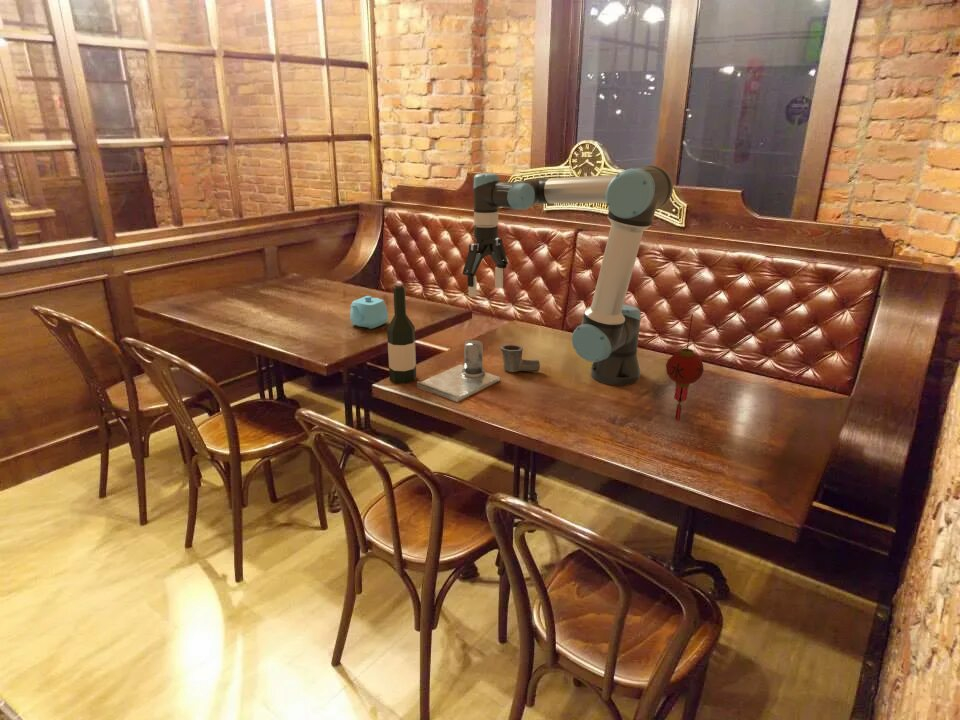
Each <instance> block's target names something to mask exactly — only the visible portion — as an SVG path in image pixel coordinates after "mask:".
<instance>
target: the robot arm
mask: <svg viewBox="0 0 960 720" xmlns="http://www.w3.org/2000/svg"><path fill="white" fill-rule="evenodd" d="M472 191H473V224H474V227H473V237H474V239H475V240H476V242H475V243H470V242H469V245H468V252H467V256H466V258H465V259H466V260H465V263H464V266H463V271H462V275H463V276H467V286H468V287H467V288H468V297H472V298H473V297H474V298H477V297H478V296H477V295H478V293H477V292H478V291H477V290H478V289H477V288H478V287H477V282H478V281H477V276H476V273H477V272H478V269H479V267H480V265H481V263H482V261H483V259H485V257H487V256H490V258H491V259H492V261H493V263H494V264H495V265H496V267H494V288H498V289H504V269H506V268H507V266H508V265H509V261H508V258H507V254H506V252H505V249H504V244H503V239H502V238H501V237H499V226H498V225H499V208H504V209H513V210H514V209H515V210H517V211H518V210H528V209H530V208H531V206H532V205H534V206H535V205H546V204H547V205H549V204H550V205H551V204H590V203H591V204H593V203H594V204H595V203H597V204H602V203H605V204H606V205H607V206H608V213H607V219H608V221H609V222H610V229H609V232H608V237H607V242H606V244H605V249H604V254H603V257H602V261H601V266H600V268H599V273H598V278H597V282H596V286H595V288H594V289H595V290H594V294H593V296H592V297H593V298H592V302H591V305H590V306H588V307H586V308H585V309H584V312H583V315H582V320H581V324H580V325H578V326H577V327H576V328H575V329H574V331H572V336H571V344H572V346H573V349H574V350H575V352H576V354H577V355H578V356H579V357H580V358H581V359H582V360H585V361H586V362H591V363H592V365H591V368H590V376H591V377H592V379H594V380H596V381H598V382H600V383H602V384H606V385H611V386H628V385H633V384H636V383H638V381H640V379H641V368H640V365H639V360H638V356H637V355H638V354H637V353H638V345H639V337H640V336H639V335H640V327H641V326H640V325H641V321H642V318H641V315H642V314H641V310H640V309H639V308H638V307H636V306H633V305H630V304H625V301H626V297H627V293H628V289H629V285H630V283H631V280H632V279H631V278H632V276H633V271H634V267H635V264H636V259H637V256H638V253H639V249H640V245H641V242H642V239H643V234H644V231H645V230H647V229H649V228H651V226H652V224H653V220H654V217H655V213H656V211H657V210H659V209H661V208H662V207H664V206H665V205H666V204H668V202H669V201H670V200H671V198H672V195H673V193H674V192H673V191H674V182H673V179H672V177H671V175H670V173H669V172H668V171H667V170H665V169H664V168H662V167H661V166H660V167H659V166H656V165H648V166H641V167H630V168H628V169H625V170H622V171H620V172H619V173H617V174H606V175H588V176H587V175H586V176H585V175H584V176H570V177H569V176H568V177H550V178H547V177H546V178H545V177H537V178H534V179H527V180H520V181H500V180H499V175H498V174H497V173H493V172H491V173H489V172H487V173H477V174H475V175H474V176H473V187H472Z"/></svg>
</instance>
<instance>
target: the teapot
mask: <svg viewBox="0 0 960 720" xmlns="http://www.w3.org/2000/svg"><path fill="white" fill-rule="evenodd" d="M349 307H350V313H349V316H350V323H351V324H352V325H355V326H357V327H359V328H360V327H363V328H368V329H369V330H372V329H375V328H377V327H380V326H382V325H384V324H386V323H388V320H389V319H388V318H389V314H388V307H387V305H386V301H385V300H384V299H381V298H379V297H372V295H366V296H363V297H361V298H358V299H355V300H353V301H352V302H351V304H350V305H349Z"/></svg>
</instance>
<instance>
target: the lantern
mask: <svg viewBox="0 0 960 720" xmlns="http://www.w3.org/2000/svg"><path fill="white" fill-rule="evenodd" d="M692 322H693V313H691V317H690V324H689V329H688V331H689V332H688V337H687V346H686V348H681V349H680V351H679V352H677V353H674V354H673V355H672V356H671V357H669V358H668V359H667V362H666V364H665V366H666V367H665V368H666V373H667V375H668V377H669V378H670V379H671V381H673V382H675V388H674V397H673V399H674V400H675V401H677V404H676V409H675V417H674V420H675V419H676V420H675V421H680V419H681V414H682V413H681V412H682V407H683V406H682V404H681V403H683V402H685V401H687V399H688V392H689V391H688V390H689V386H690V384H693V383H694V384H695V383H696V382H697V381H698V380H700V378H702V375H703V373H704V371H705V370H704V363H703V360H701V358H700V356H699V355H698V356H697V355H696V354H695V351H694V350H693V349H690V348H689V345H690V344H689V343H690V336H691V330H692V329H691V328H692Z"/></svg>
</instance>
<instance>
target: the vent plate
mask: <svg viewBox="0 0 960 720" xmlns="http://www.w3.org/2000/svg"><path fill="white" fill-rule="evenodd" d="M483 345H484V344H483V341H480V340H476V339H470V340H466V341H465V342H464V347H463V348H464V349H463V351H464V355H463V356H464V360H463V361H464V364H457V365H455V366H453V367H451V368H449V369H447V370H444V371H442V372H440V373H437V374H436V375H432V376H431V377H429V378H427V379H424V380H422V381H419V380H418V381H417V382H416V387H417V388H418V389H420V390H423V391H426V392H428V393H431V394H433V395H436V396H439V397H441V398H445V399H447V400H450V401H454V402H456V403H459V402H461V401H462V400H465V399H466V398H468V397H470V396H472V395H474V394H476V393H478V392H480V391H482V390H484V389H486V388H488V387H489V386H492V385H494V384H495V383H497V382H500V379H501V378H500V376H497V375H495V374H492V373H489V372H486V370H485V369H484V368H483V361H484V360H483V356H484V355H483V354H484V353H483V352H484V350H483V347H484V346H483Z"/></svg>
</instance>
